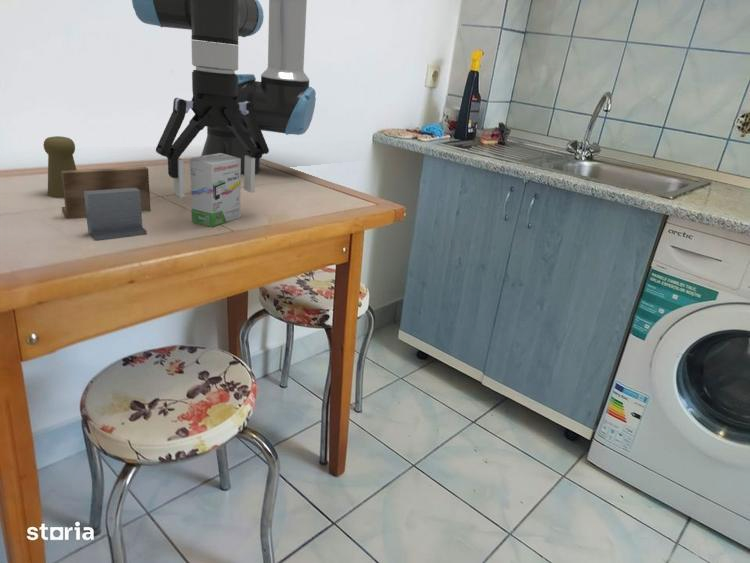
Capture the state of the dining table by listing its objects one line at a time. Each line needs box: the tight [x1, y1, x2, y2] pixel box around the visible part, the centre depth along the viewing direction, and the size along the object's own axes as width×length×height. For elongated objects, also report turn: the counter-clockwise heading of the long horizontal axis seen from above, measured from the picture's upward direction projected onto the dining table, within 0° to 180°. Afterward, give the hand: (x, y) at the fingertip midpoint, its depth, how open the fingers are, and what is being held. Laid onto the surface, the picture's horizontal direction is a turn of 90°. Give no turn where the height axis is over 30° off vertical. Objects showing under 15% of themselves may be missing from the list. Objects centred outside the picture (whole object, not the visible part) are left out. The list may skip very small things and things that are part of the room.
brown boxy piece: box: [61, 166, 152, 219], centre depth 98 cm, size 14×4×8 cm, turn 130°
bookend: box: [84, 188, 148, 241], centre depth 88 cm, size 8×4×7 cm, turn 130°
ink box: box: [189, 153, 242, 228], centre depth 99 cm, size 8×5×12 cm, turn 155°
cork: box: [43, 135, 78, 199], centre depth 104 cm, size 6×6×11 cm
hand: (215, 193), depth 99 cm, fingers open, 13 cm apart
